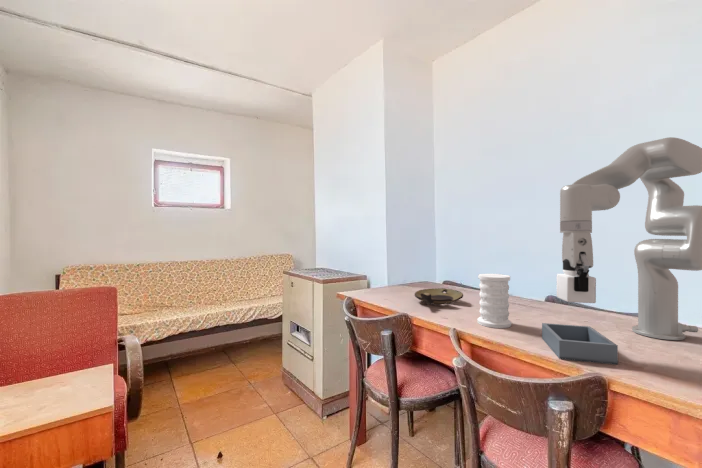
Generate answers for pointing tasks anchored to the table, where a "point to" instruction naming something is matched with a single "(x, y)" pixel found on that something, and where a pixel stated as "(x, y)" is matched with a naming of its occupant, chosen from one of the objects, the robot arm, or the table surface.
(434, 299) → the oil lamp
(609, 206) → the robot arm
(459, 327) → the table surface
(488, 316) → the decorative container
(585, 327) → the bin
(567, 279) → the medicine bottle
